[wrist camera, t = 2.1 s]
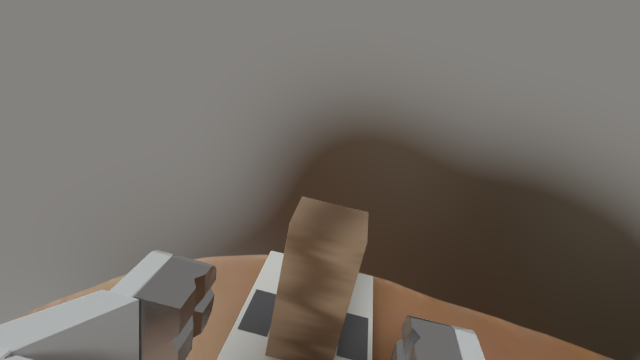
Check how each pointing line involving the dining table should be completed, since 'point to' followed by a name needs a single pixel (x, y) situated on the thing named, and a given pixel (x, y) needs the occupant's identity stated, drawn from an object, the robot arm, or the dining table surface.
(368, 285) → the box
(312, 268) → the walnut post
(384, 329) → the dining table surface
